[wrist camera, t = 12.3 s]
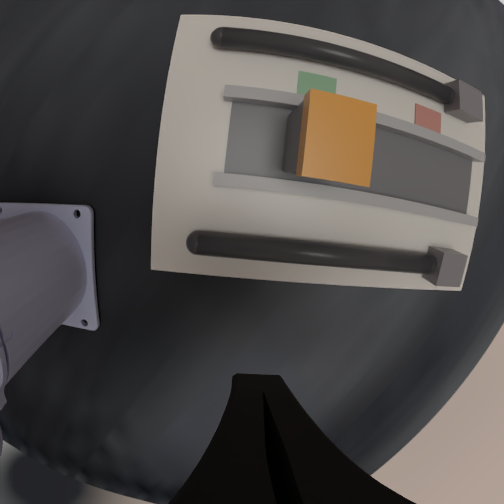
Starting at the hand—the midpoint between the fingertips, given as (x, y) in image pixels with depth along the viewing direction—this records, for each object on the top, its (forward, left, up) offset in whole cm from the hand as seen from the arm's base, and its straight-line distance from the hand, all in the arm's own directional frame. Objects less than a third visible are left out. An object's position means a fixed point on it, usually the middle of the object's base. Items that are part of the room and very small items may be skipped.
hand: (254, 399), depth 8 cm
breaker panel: (+5, +8, -9) cm, 13 cm away
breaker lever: (+2, +8, -8) cm, 11 cm away
